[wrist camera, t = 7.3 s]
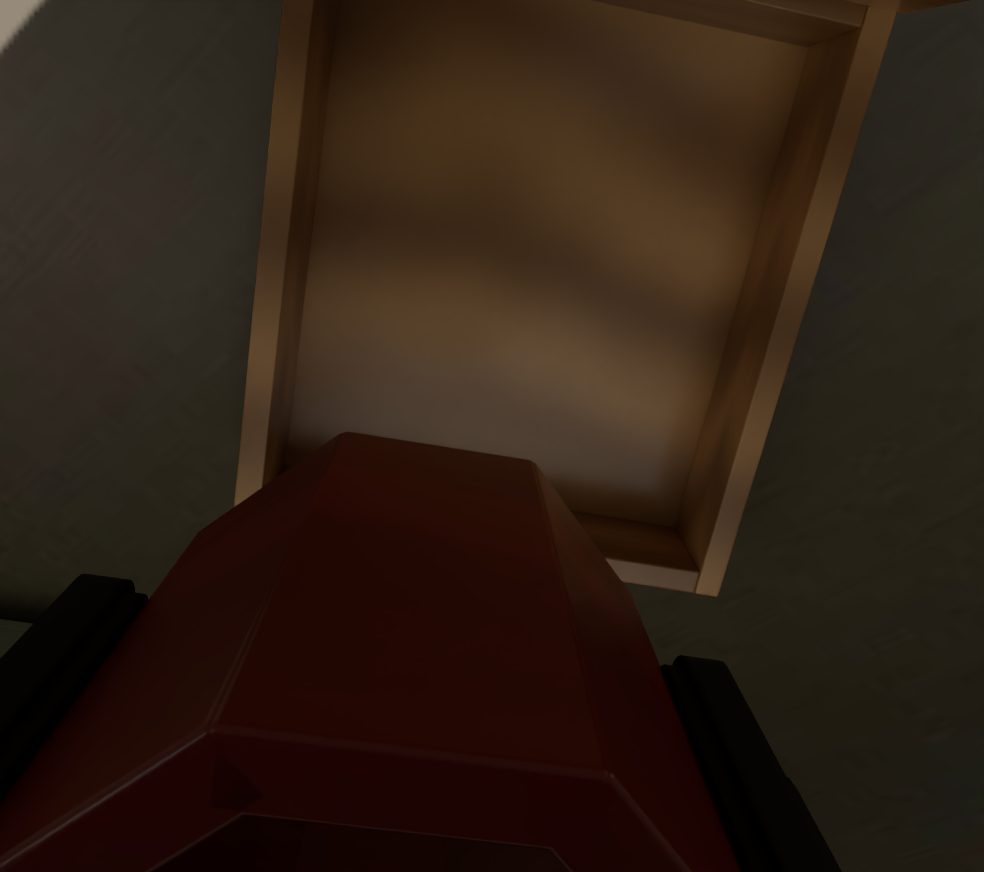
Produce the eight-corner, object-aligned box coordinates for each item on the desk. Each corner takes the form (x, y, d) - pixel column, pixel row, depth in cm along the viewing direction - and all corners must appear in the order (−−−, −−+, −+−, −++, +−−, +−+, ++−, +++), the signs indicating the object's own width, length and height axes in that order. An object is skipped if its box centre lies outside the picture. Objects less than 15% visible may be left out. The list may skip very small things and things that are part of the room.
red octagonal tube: (178, 787, 12) (-65, 1314, 7) (205, 406, 10) (-102, 687, 5) (570, 832, 13) (656, 1356, 7) (662, 478, 11) (876, 805, 5)
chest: (684, 540, 30) (718, 597, 26) (265, 472, 29) (232, 521, 25) (829, 29, 25) (901, 0, 21) (325, -82, 23) (294, -136, 19)
